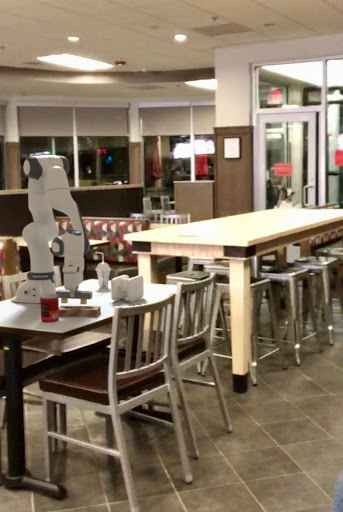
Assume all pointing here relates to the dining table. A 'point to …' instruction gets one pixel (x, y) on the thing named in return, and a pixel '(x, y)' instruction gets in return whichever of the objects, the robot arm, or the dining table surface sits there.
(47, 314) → the canned food
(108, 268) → the cup with straw
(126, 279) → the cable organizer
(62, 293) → the gray bar with feet
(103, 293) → the dining table surface
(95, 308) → the wooden tray
